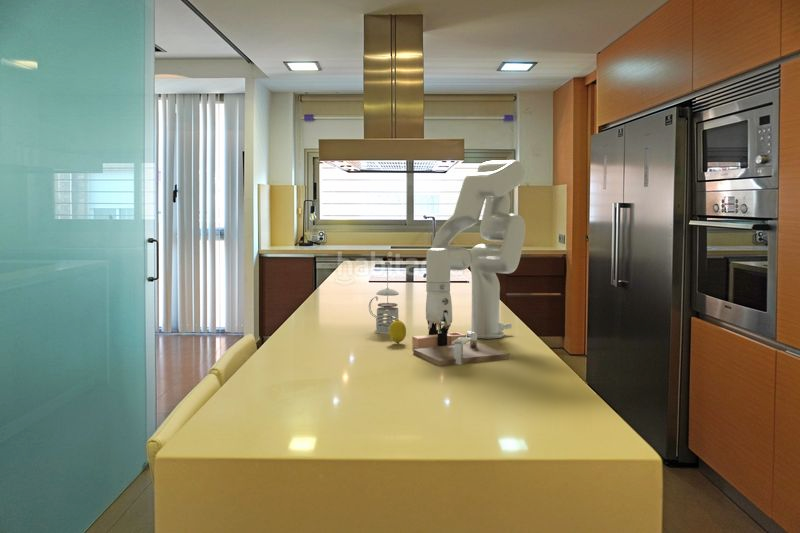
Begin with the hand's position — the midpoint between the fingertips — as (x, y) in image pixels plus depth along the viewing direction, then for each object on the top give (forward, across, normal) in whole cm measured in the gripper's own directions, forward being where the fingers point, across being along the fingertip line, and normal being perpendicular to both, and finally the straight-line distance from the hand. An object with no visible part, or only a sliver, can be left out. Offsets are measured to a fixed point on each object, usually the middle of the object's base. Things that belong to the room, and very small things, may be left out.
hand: (437, 343), depth 218 cm
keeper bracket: (+1, -22, +4) cm, 22 cm away
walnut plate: (+1, -16, 0) cm, 16 cm away
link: (+1, 0, 0) cm, 1 cm away
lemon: (+1, +9, +10) cm, 14 cm away
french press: (+1, +31, +5) cm, 31 cm away
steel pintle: (-1, -12, -6) cm, 13 cm away
